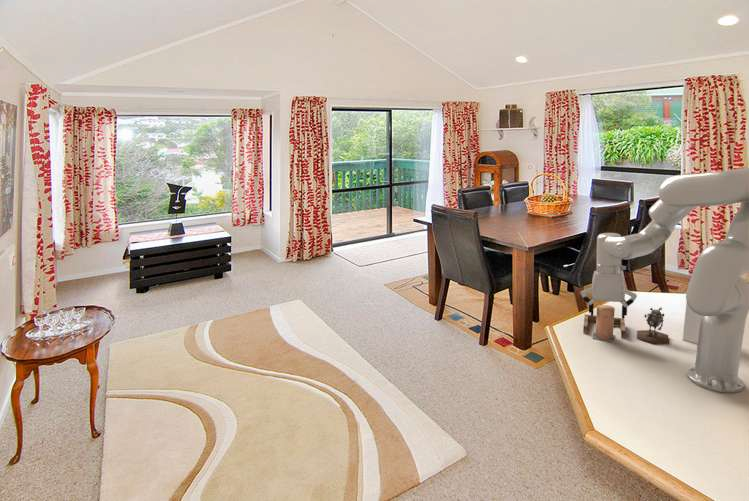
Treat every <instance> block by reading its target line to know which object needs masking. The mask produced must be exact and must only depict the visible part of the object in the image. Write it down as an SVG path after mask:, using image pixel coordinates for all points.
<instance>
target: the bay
mask: <svg viewBox="0 0 749 501" xmlns="http://www.w3.org/2000/svg"><path fill="white" fill-rule="evenodd" d="M596 317H597V315H595V314H593V316H591V314H584V317H583V328H582V329H583V330H582V331H583V332H582V333H583V334H588V324H596ZM614 325H616V327H619V328H620V339H626V334H627V333H626V332H627V330H626V323H625V318H622V317H614Z"/></svg>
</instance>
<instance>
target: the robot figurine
mask: <svg viewBox="0 0 749 501" xmlns="http://www.w3.org/2000/svg"><path fill="white" fill-rule="evenodd" d="M662 310H663V307H662V306H660V307H659V308H658V309H653V307H651V308H649V311H650V313H644V314H643V315H644V316H643V317H644V318H647V319H646V322H647V325H649V326H648V327H649V329H648V330H647V329H645V330H636V340H638V339H639V341H641V340H642V342H645V343H647V344H651V345H665V344H669V343H670V339H669V338H670V337H669V334H667V333H662V332H659V331H661V330H662V328H663V326H664V325H663V324H664V317H665V313H662V312H661V311H662ZM652 327H653V328H654V330H653V329H652Z"/></svg>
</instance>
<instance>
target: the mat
mask: <svg viewBox="0 0 749 501" xmlns="http://www.w3.org/2000/svg"><path fill="white" fill-rule="evenodd" d="M592 339H593V340H599V341H603V340H602V339H599V338H597V337H596V332H592ZM605 341H607V342H614V341H615V342H616V335H615V334H613V339H611V340H605Z"/></svg>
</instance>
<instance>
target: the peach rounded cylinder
mask: <svg viewBox="0 0 749 501" xmlns="http://www.w3.org/2000/svg"><path fill="white" fill-rule="evenodd" d="M596 316H597V317H596V323H595V333H596V337H597V338H599V339H602V340H601V341H606V340H611V339H613V335H614V328H615V326H614V318H615V307H614V306H611V305H605V304H601V305H597V306H596Z"/></svg>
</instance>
